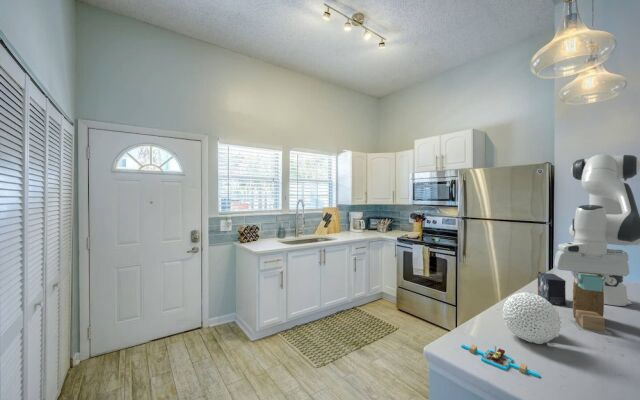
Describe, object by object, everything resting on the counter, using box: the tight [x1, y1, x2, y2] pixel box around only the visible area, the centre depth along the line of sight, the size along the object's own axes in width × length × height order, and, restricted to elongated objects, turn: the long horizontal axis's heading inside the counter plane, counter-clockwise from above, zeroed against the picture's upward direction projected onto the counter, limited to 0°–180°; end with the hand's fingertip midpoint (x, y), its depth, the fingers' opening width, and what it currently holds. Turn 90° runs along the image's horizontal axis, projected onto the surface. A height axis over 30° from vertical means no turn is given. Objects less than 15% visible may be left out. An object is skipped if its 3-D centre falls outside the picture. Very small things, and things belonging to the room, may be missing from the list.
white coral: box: [502, 291, 562, 345], centre depth 96 cm, size 20×18×16 cm
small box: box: [537, 272, 567, 307], centre depth 132 cm, size 13×7×12 cm, turn 159°
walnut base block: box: [575, 310, 606, 332], centre depth 101 cm, size 6×6×5 cm
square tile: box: [569, 319, 613, 336], centre depth 101 cm, size 9×9×1 cm
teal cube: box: [578, 273, 602, 292], centre depth 101 cm, size 5×5×5 cm
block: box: [572, 272, 605, 319], centre depth 109 cm, size 11×8×20 cm
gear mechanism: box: [461, 344, 540, 379], centre depth 81 cm, size 20×5×9 cm
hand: (589, 284), depth 101 cm, fingers closed on teal cube, 5 cm apart
